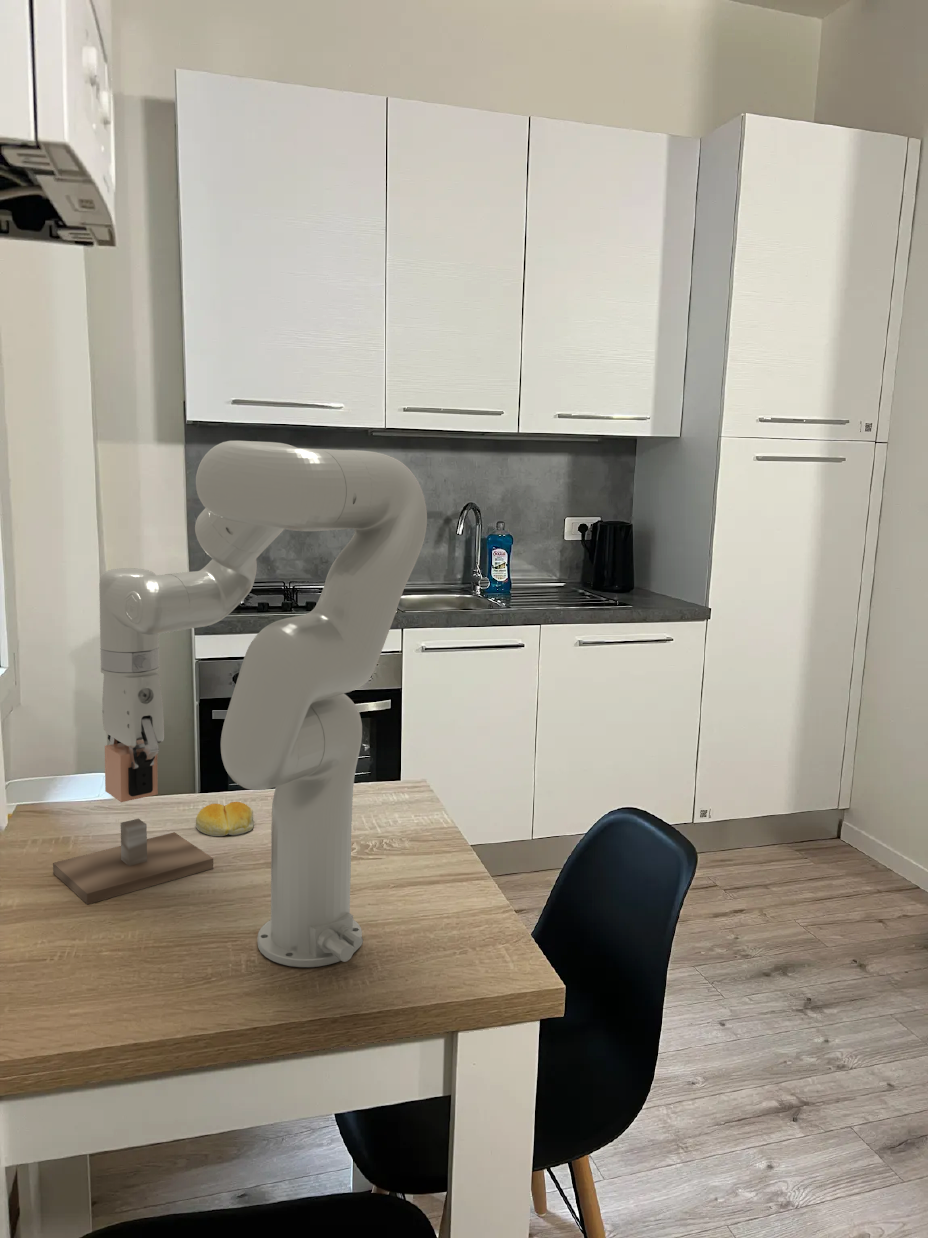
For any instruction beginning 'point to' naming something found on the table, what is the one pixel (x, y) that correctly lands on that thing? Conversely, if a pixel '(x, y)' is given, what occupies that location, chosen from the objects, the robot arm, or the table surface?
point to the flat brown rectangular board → (131, 864)
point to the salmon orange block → (123, 772)
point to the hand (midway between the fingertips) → (131, 786)
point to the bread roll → (225, 819)
